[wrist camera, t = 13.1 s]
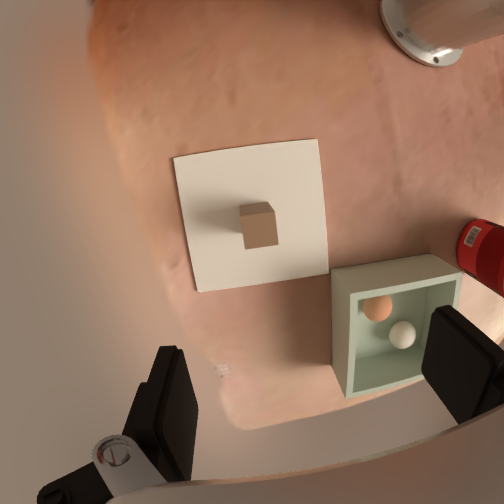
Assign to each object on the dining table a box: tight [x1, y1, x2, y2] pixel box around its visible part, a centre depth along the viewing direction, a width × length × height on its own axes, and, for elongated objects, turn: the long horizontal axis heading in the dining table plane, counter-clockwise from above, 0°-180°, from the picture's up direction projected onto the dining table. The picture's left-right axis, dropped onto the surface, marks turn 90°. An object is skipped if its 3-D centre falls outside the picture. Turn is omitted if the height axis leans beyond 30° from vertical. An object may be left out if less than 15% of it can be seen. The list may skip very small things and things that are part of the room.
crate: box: [331, 253, 462, 399], centre depth 35 cm, size 14×14×7 cm
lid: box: [173, 139, 329, 292], centre depth 31 cm, size 15×15×7 cm
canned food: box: [456, 219, 504, 298], centre depth 31 cm, size 8×8×11 cm
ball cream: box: [389, 321, 416, 349], centre depth 36 cm, size 4×4×4 cm
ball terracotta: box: [363, 295, 392, 322], centre depth 35 cm, size 4×4×4 cm
